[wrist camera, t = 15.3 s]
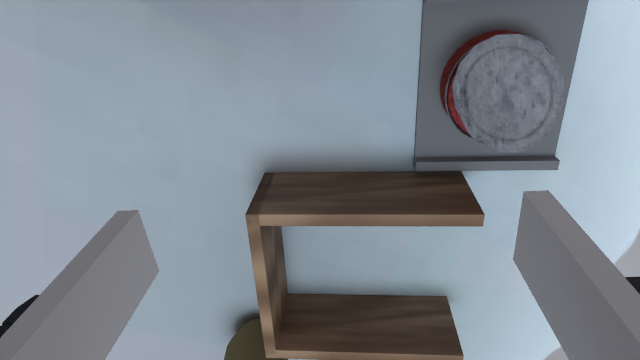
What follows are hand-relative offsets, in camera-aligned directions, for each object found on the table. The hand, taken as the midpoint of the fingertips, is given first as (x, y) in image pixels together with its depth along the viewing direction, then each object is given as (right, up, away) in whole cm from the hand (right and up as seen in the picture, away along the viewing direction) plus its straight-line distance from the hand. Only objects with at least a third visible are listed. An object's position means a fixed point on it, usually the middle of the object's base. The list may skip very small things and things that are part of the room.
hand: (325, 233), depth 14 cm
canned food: (+16, +11, +25) cm, 32 cm away
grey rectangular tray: (+16, +11, +25) cm, 32 cm away
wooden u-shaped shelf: (+5, -6, +35) cm, 35 cm away
